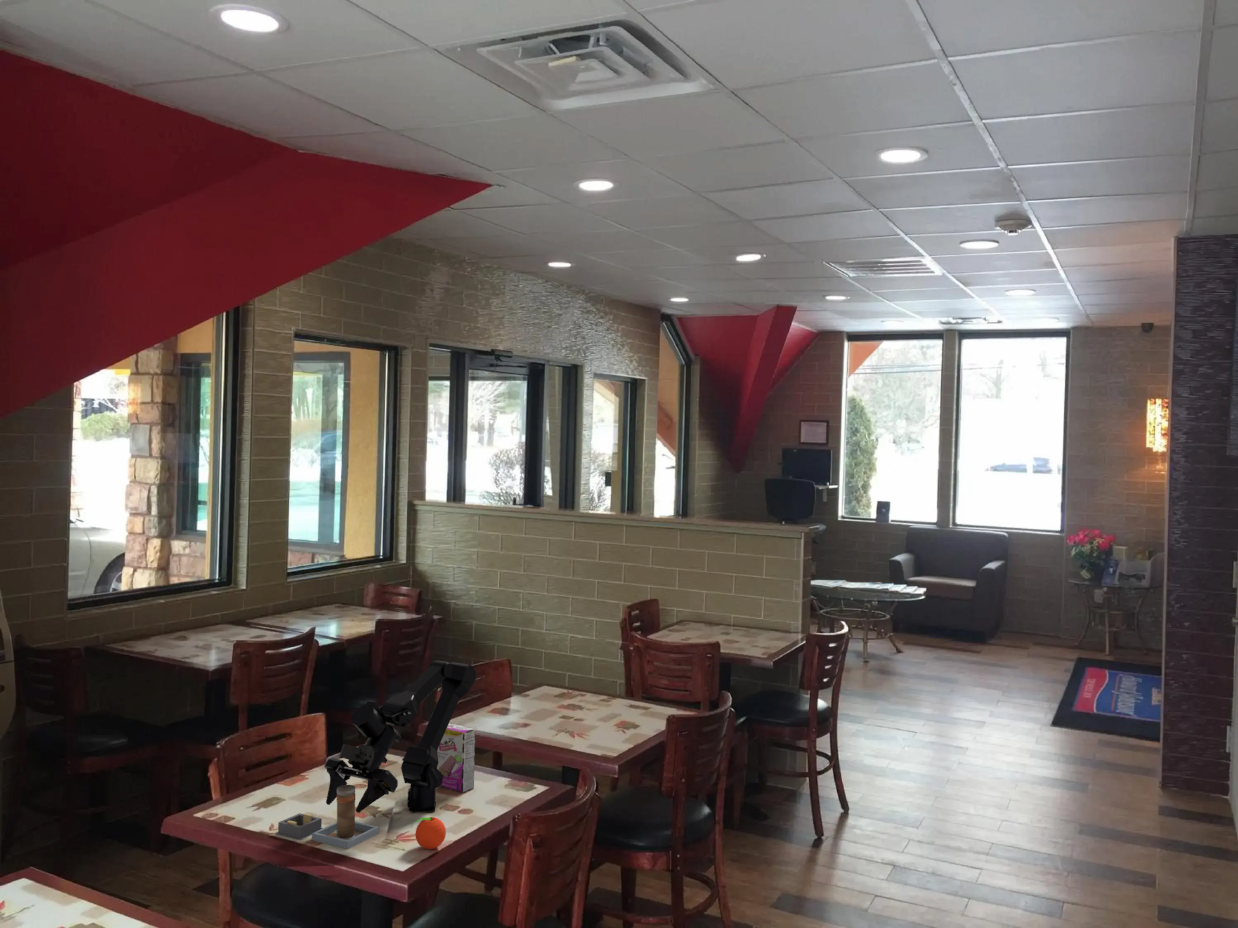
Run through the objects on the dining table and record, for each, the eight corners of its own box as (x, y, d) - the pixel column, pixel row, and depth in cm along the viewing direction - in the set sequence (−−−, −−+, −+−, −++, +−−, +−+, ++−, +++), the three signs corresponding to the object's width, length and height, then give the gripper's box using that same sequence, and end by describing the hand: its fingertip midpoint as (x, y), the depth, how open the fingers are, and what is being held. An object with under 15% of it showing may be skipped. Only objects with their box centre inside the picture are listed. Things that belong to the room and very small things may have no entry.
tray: (343, 830, 240) (343, 818, 240) (378, 839, 235) (379, 826, 235) (311, 846, 230) (312, 833, 230) (348, 855, 226) (348, 841, 226)
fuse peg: (353, 834, 236) (353, 783, 235) (357, 840, 232) (357, 789, 232) (334, 837, 234) (334, 786, 233) (338, 844, 230) (338, 792, 230)
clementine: (407, 853, 228) (408, 822, 228) (413, 841, 235) (414, 811, 235) (442, 854, 228) (443, 822, 228) (447, 842, 235) (448, 812, 235)
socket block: (299, 828, 241) (299, 809, 241) (324, 834, 237) (325, 815, 237) (274, 839, 234) (274, 820, 234) (300, 846, 230) (300, 826, 230)
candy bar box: (431, 785, 274) (432, 724, 274) (443, 780, 279) (445, 721, 278) (462, 793, 268) (464, 731, 268) (474, 788, 273) (476, 727, 272)
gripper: (330, 723, 241) (294, 782, 231) (390, 736, 232) (355, 797, 222) (353, 748, 248) (319, 806, 238) (412, 761, 239) (379, 822, 229)
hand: (342, 807), depth 232 cm, fingers open, 9 cm apart
